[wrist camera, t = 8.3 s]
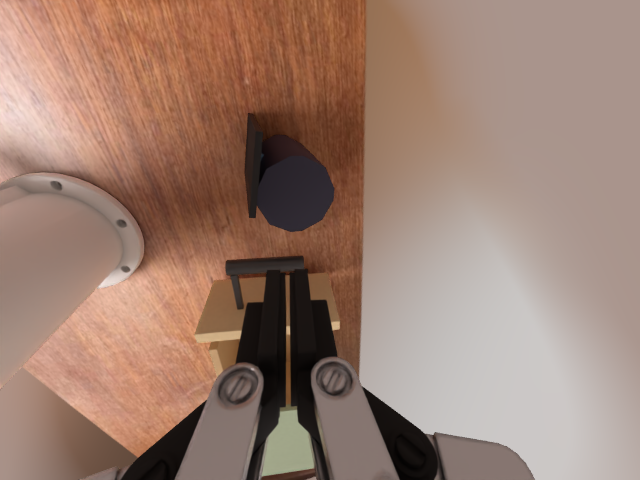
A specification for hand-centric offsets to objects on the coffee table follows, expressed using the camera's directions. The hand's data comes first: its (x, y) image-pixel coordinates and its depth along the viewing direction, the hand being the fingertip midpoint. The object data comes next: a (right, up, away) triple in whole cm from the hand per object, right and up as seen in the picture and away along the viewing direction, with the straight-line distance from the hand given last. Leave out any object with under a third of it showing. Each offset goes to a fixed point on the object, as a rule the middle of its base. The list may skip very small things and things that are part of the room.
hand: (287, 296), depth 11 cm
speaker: (-2, +10, +14) cm, 18 cm away
